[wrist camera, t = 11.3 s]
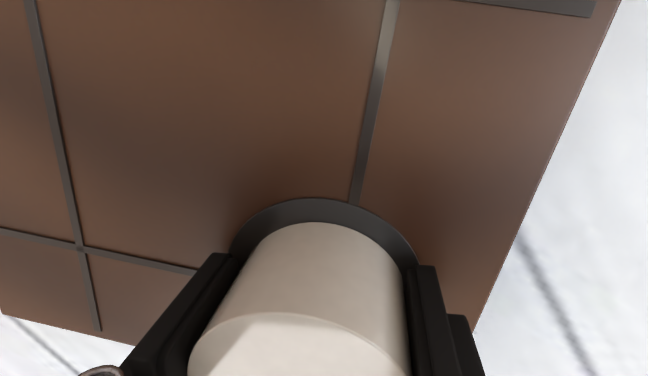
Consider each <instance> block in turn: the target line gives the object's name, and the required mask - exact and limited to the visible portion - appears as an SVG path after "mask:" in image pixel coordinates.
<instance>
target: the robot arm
mask: <svg viewBox="0 0 648 376" xmlns="http://www.w3.org/2000/svg"><path fill="white" fill-rule="evenodd" d="M239 272H240V271H239V265H238V261H237V259H236V258H233V256H232V254H230V253H217V252H214V253H212V254H210V256H209V257H208V258H207V259H206V261H205V262H204V263H203V264H202V266H201V267H200V268H199V269H198V270H197V272H196V273H195V274H194V275H193V277H192V278H191V279H190V280H189V282H188V283H187V284H186V285H185V286H184V288H183V289H182V290H181V291H180V293H179V294H178V295H177V296H176V297H175V299H174V300H173V301H172V302H171V304H170V305H169V306H168V307H167V309H166V310H165V311H164V312H163V313H162V315H161V316H160V317H159V318H158V320H157V321H156V322H155V323H154V325H153V326H152V327H151V328H150V329H149V331H148V332H147V333H146V334H145V336H144V337H143V338H142V339H141V341H140V342H139V343H138V344H137V345H136V347H135V348H134V349H133V350H132V352H131V353H130V354H129V355H128V357H127V358H126V359H125V360H124V362H123V363H122V364H121V365H120V366H119V367H116V366H113V365H103V366H99V367H95V368H92V369H90V370H87V371H85V372H83V373H81V374H80V375H78V376H187V366H188V361H189V357H190V354H191V352H192V350H193V348H194V346H195V344H196V342H197V341H198V339H199V337H200V336H201V334H202V333H203V331H204V329H205V328H206V326H207V324H208V323H209V321H210V320H211V318H212V316H213V315H214V313H215V311H216V310H217V308H218V306H219V305H220V303H221V302H222V300H223V298H224V297H225V295H226V293H227V292H228V290H229V289H230V287H231V285H232V284H233V282H234V280H235V279H236V277H237V275H238V274H239ZM406 302H407V311H408V320H409V330H410V339H411V348H412V358H413V367H414V376H485V373H484V370H483V367H482V364H481V360H480V357H479V354H478V351H477V348H476V345H475V342H474V339H473V336H472V332H471V329H470V326H469V323H468V320H467V318H466V316H465V315H460V314H448V313H447V312H446V308H445V304H444V300H443V296H442V292H441V288H440V284H439V281H438V277H437V273H436V269H435V266H432V265H416V264H415V266H414V269H408V270H407V280H406Z"/></svg>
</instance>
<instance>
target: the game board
mask: <svg viewBox="0 0 648 376" xmlns="http://www.w3.org/2000/svg"><path fill="white" fill-rule="evenodd" d="M620 2H621V0H0V309H1V312H2V314H4V315H8V316H12V317H17V318H21V319H25V320H29V321H33V322H37V323H41V324H46V325H50V326H54V327H58V328H62V329H66V330H71V331H75V332H79V333H83V334H87V335H91V336H96V337H100V338H104V339H108V340H112V341H116V342H120V343H125V344H129V345H133V346H136V345H137V344H138V343H139V342H140V341H141V339H142V338H143V337H144V336H145V334H146V333H147V332H148V331H149V329H150V328H151V327H152V326H153V325H154V323H155V322H156V321H157V320H158V318H159V317H160V316H161V315H162V313H163V312H164V311H165V310H166V309H167V307H168V306H169V305H170V304H171V302H172V301H173V300H174V299H175V297H176V296H177V295H178V294H179V293H180V291H181V290H182V289H183V288H184V286H185V285H186V284H187V283H188V282H189V280H190V279H191V278H192V277H193V275H194V274H195V273H196V272H197V270H198V269H199V268H200V267H201V266H202V264H203V263H204V262H205V261H206V259H207V258H208V257H209V256H210V254H212V253H214V252H217V253H230V254H232V256H233V258H236V259H237V261H238V265H239V271H241V269H242V267H243V266H244V264H245V262H246V261H247V259H248V258H249V256H250V254H251V253H252V251H253V250H254V249H255V247H256V246H257V245H258V244H259V243H260V242H261V241H262V240H263V239H264V238H266V237H267V236H268V235H270V234H271V233H273V232H275V231H277V230H279V229H281V228H284V227H287V226H290V225H294V224H299V223H307V222H323V223H331V224H336V225H340V226H344V227H347V228H350V229H352V230H355V231H357V232H359V233H361V234H363V235H365V236H367V237H368V238H370V239H371V240H373V241H374V242H376V243H377V244H378V245H379V246H380V247H382V248H383V249H384V250H385V251H386V252H387V253H388V254H389V256H390V257H391V258H392V259H393V261H394V262H395V264H396V265H397V267H398V269H399V271H400V273H401V275H402V278H403V281H404V285H405V292H406V280H407V270H408V269H414V266H415V264H416V265H432V266H435V269H436V273H437V277H438V281H439V284H440V288H441V292H442V296H443V300H444V304H445V308H446V312H447V313H448V314H460V315H465V316H466V318H467V320H468V323H469V326H470V329H471V332H472V333H473V331H474V328H475V326H476V324H477V322H478V319H479V317H480V315H481V313H482V310H483V308H484V306H485V304H486V302H487V299H488V297H489V295H490V293H491V290H492V288H493V286H494V284H495V281H496V279H497V277H498V275H499V273H500V270H501V268H502V266H503V264H504V261H505V259H506V257H507V255H508V252H509V250H510V248H511V246H512V243H513V241H514V239H515V237H516V235H517V232H518V230H519V228H520V226H521V223H522V221H523V219H524V217H525V214H526V212H527V210H528V208H529V206H530V203H531V201H532V199H533V197H534V194H535V192H536V190H537V188H538V185H539V183H540V181H541V179H542V176H543V174H544V172H545V170H546V168H547V165H548V163H549V161H550V159H551V156H552V154H553V152H554V150H555V147H556V145H557V143H558V141H559V139H560V136H561V134H562V132H563V130H564V127H565V125H566V123H567V121H568V118H569V116H570V114H571V112H572V110H573V107H574V105H575V103H576V101H577V98H578V96H579V94H580V92H581V89H582V87H583V85H584V83H585V80H586V78H587V76H588V74H589V72H590V69H591V67H592V65H593V63H594V60H595V58H596V56H597V54H598V51H599V49H600V47H601V45H602V43H603V40H604V38H605V36H606V34H607V31H608V29H609V27H610V25H611V22H612V20H613V18H614V16H615V13H616V11H617V9H618V7H619V5H620Z"/></svg>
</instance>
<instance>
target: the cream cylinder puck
mask: <svg viewBox="0 0 648 376" xmlns="http://www.w3.org/2000/svg"><path fill="white" fill-rule="evenodd" d="M187 376H414V367H413V358H412V348H411V339H410V330H409V320H408V311H407V302H406V292H405V285H404V281H403V278H402V275H401V273H400V271H399V269H398V267H397V265H396V264H395V262H394V261H393V259H392V258H391V257H390V256H389V254H388V253H387V252H386V251H385V250H384V249H383V248H382V247H380V246H379V245H378V244H377V243H376V242H374V241H373V240H371V239H370V238H368V237H367V236H365V235H363V234H361V233H359V232H357V231H355V230H352V229H350V228H347V227H344V226H340V225H336V224H331V223H323V222H307V223H299V224H294V225H290V226H287V227H284V228H281V229H279V230H277V231H275V232H273V233H271V234H270V235H268V236H267V237H266V238H264V239H263V240H262V241H261V242H260V243H259V244H258V245H257V246H256V247H255V249H254V250H253V251H252V253H251V254H250V256H249V258H248V259H247V261H246V262H245V264H244V266H243V267H242V269H241V271H240V272H239V274H238V275H237V277H236V279H235V280H234V282H233V284H232V285H231V287H230V289H229V290H228V292H227V293H226V295H225V297H224V298H223V300H222V302H221V303H220V305H219V306H218V308H217V310H216V311H215V313H214V315H213V316H212V318H211V320H210V321H209V323H208V324H207V326H206V328H205V329H204V331H203V333H202V334H201V336H200V337H199V339H198V341H197V342H196V344H195V346H194V348H193V350H192V352H191V354H190V357H189V361H188V366H187Z"/></svg>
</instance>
